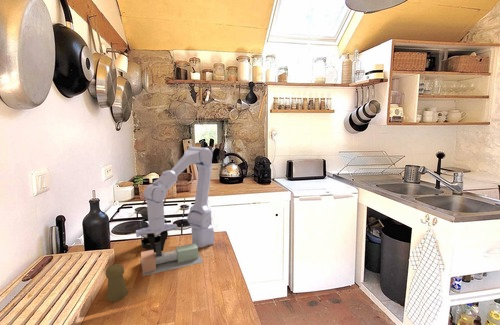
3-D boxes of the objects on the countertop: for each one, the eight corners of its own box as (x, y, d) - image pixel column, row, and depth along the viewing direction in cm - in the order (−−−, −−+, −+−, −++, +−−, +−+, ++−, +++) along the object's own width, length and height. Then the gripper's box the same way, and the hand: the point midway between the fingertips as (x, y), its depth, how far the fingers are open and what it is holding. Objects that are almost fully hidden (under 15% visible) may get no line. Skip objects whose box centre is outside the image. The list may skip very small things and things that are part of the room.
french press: (138, 253, 114) (134, 201, 110) (140, 243, 123) (136, 195, 119) (167, 249, 117) (164, 198, 114) (167, 240, 126) (164, 192, 122)
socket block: (153, 259, 107) (153, 249, 106) (156, 269, 100) (155, 259, 99) (141, 262, 105) (140, 252, 104) (143, 272, 98) (142, 261, 97)
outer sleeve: (195, 253, 112) (195, 243, 111) (198, 258, 108) (198, 247, 107) (176, 257, 108) (175, 247, 108) (178, 262, 105) (177, 252, 104)
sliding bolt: (182, 255, 109) (182, 238, 108) (184, 258, 106) (183, 241, 105) (147, 262, 103) (145, 244, 102) (147, 266, 101) (146, 248, 99)
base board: (196, 250, 116) (195, 248, 116) (203, 264, 105) (203, 261, 105) (140, 262, 107) (140, 260, 106) (142, 278, 96) (142, 276, 96)
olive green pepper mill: (122, 289, 90) (119, 259, 88) (131, 297, 86) (128, 265, 84) (103, 299, 85) (99, 267, 83) (112, 307, 81) (108, 274, 79)
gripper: (135, 223, 94) (138, 259, 96) (177, 217, 100) (179, 251, 102) (134, 217, 100) (137, 251, 103) (174, 211, 106) (176, 243, 109)
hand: (158, 250), depth 103 cm, fingers closed on sliding bolt, 2 cm apart
